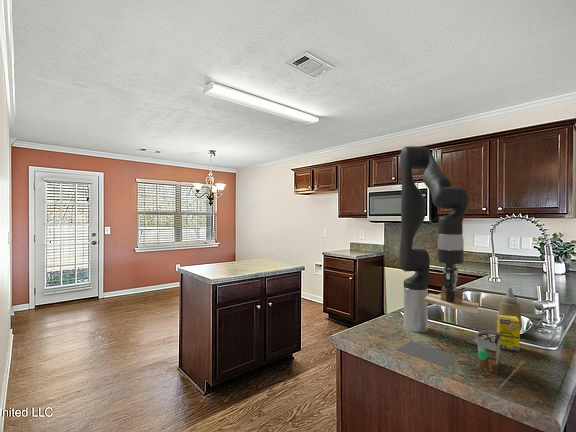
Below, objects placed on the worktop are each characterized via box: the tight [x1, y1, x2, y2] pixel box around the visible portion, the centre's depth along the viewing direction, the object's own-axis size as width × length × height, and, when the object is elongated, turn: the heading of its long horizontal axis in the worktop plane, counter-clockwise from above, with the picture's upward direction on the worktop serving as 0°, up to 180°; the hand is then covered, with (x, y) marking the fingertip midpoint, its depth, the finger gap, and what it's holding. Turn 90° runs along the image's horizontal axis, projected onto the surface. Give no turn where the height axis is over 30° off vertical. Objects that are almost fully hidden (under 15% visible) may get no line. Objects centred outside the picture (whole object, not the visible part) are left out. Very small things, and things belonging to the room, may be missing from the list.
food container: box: [474, 330, 501, 376], centre depth 98 cm, size 12×6×10 cm, turn 141°
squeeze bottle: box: [498, 287, 523, 331], centre depth 126 cm, size 8×8×18 cm
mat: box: [395, 340, 461, 368], centre depth 107 cm, size 11×17×1 cm, turn 41°
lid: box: [424, 286, 480, 314], centre depth 102 cm, size 9×15×5 cm, turn 56°
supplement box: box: [496, 313, 521, 353], centre depth 112 cm, size 6×6×11 cm
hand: (450, 300), depth 103 cm, fingers closed on lid, 3 cm apart
